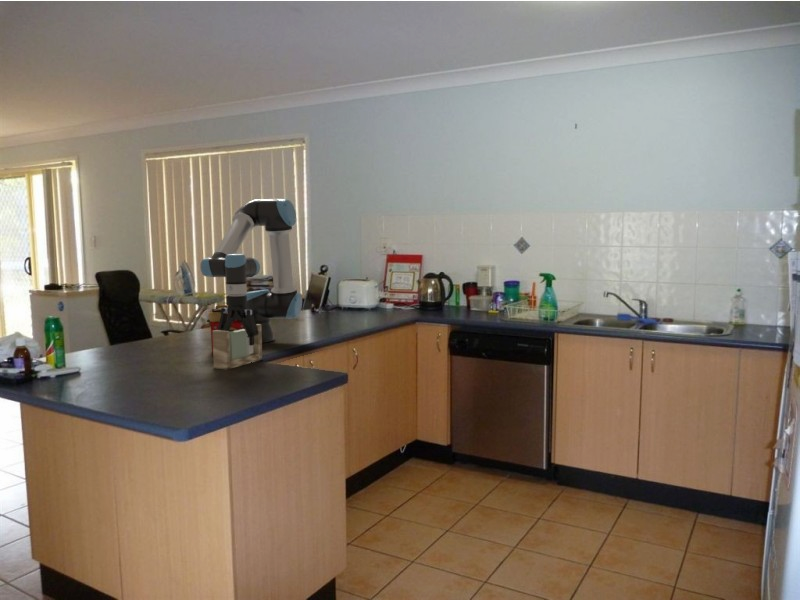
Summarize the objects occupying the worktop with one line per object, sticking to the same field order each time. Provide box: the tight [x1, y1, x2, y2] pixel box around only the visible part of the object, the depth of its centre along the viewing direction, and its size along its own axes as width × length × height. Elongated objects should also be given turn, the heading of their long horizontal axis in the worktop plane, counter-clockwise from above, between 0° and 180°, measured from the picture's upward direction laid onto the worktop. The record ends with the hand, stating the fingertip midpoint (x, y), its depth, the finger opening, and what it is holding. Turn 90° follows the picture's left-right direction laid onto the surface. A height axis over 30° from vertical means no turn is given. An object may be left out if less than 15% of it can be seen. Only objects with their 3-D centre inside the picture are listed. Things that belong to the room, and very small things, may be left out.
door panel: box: [229, 329, 250, 361], centre depth 239 cm, size 10×3×12 cm, turn 153°
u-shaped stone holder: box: [212, 324, 263, 371], centre depth 239 cm, size 20×6×14 cm, turn 153°
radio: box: [208, 304, 247, 356], centre depth 259 cm, size 16×10×20 cm, turn 105°
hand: (238, 352), depth 239 cm, fingers open, 11 cm apart
